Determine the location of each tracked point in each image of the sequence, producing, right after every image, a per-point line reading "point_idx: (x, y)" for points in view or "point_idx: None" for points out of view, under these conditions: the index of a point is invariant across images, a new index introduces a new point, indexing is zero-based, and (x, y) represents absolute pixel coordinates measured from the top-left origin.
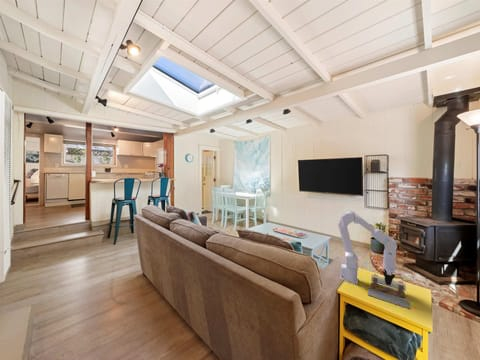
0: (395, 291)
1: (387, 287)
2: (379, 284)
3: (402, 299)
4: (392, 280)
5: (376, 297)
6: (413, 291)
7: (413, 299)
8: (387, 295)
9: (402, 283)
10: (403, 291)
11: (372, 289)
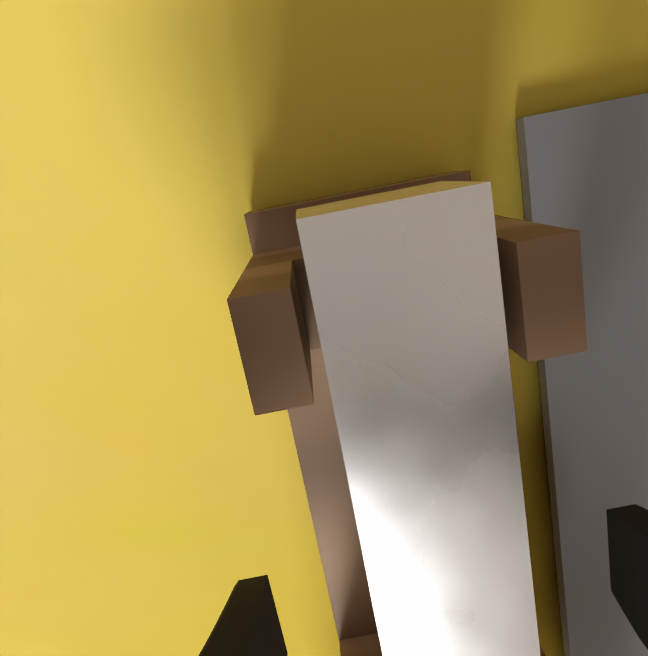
0: None
1: (346, 486)
2: (344, 605)
3: (581, 202)
4: (380, 539)
5: None
6: None
7: (338, 36)
8: (621, 423)
9: (355, 292)
10: (252, 229)
11: (586, 627)
